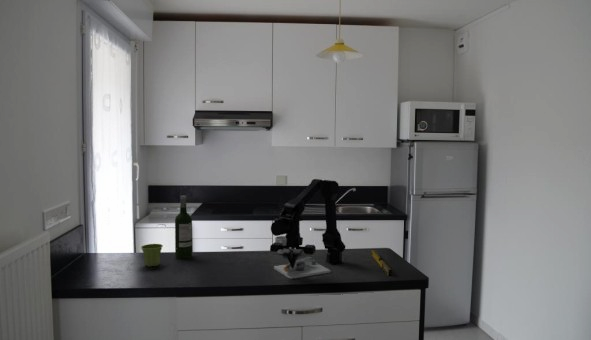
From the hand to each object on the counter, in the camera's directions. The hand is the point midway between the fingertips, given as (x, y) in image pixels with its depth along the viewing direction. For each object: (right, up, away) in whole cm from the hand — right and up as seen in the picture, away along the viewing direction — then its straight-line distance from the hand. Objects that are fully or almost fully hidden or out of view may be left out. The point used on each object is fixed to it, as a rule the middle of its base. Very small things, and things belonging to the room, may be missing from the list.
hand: (292, 268), depth 180 cm
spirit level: (+41, -3, +19) cm, 46 cm away
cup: (-6, -1, +35) cm, 35 cm away
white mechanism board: (+4, -3, +8) cm, 10 cm away
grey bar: (+2, -2, +6) cm, 7 cm away
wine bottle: (-54, -1, +27) cm, 60 cm away
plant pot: (-65, -2, +14) cm, 66 cm away
